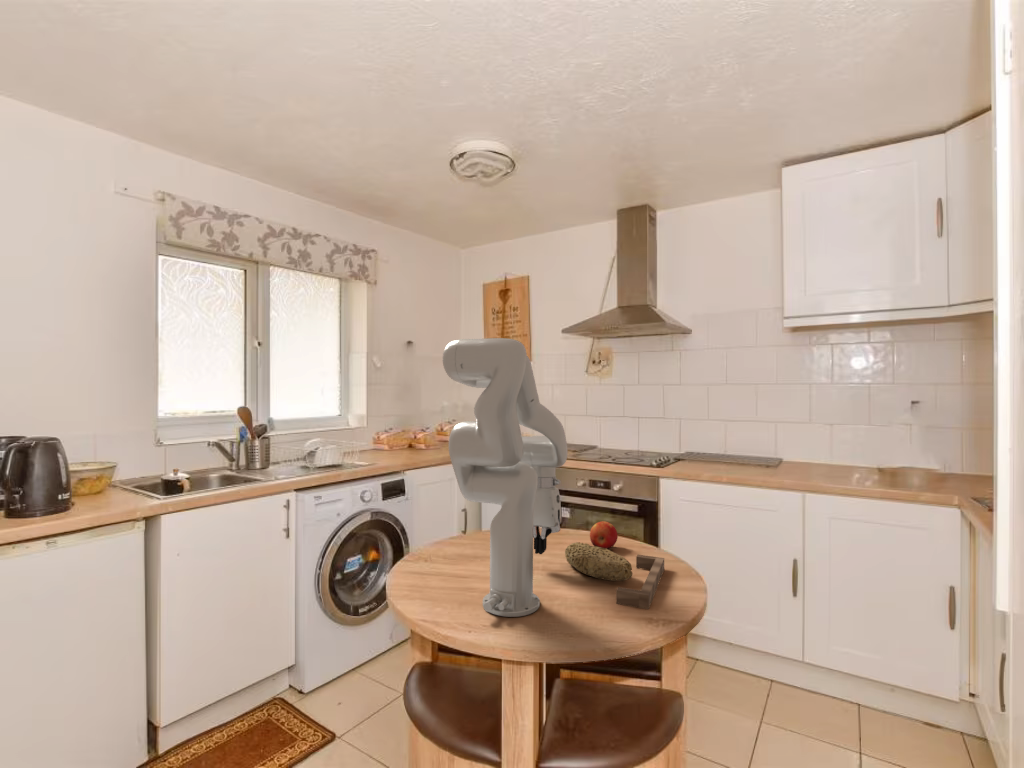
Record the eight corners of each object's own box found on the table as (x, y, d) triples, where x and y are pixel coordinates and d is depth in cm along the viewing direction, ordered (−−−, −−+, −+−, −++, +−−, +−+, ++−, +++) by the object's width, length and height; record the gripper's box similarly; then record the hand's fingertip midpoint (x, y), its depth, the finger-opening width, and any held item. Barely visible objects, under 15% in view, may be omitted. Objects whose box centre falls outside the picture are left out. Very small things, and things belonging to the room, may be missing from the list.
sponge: (559, 569, 139) (587, 579, 120) (562, 539, 141) (590, 545, 122) (604, 574, 142) (637, 586, 123) (606, 545, 144) (640, 552, 125)
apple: (620, 547, 154) (620, 521, 154) (610, 555, 147) (610, 527, 147) (596, 543, 158) (596, 517, 158) (585, 550, 151) (585, 523, 151)
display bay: (648, 609, 110) (648, 595, 110) (616, 603, 113) (616, 590, 113) (664, 569, 135) (664, 558, 135) (637, 565, 138) (637, 554, 138)
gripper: (572, 482, 135) (571, 552, 134) (520, 478, 141) (519, 545, 140) (563, 486, 128) (562, 560, 128) (509, 482, 134) (508, 552, 134)
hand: (540, 552), depth 134 cm, fingers closed
